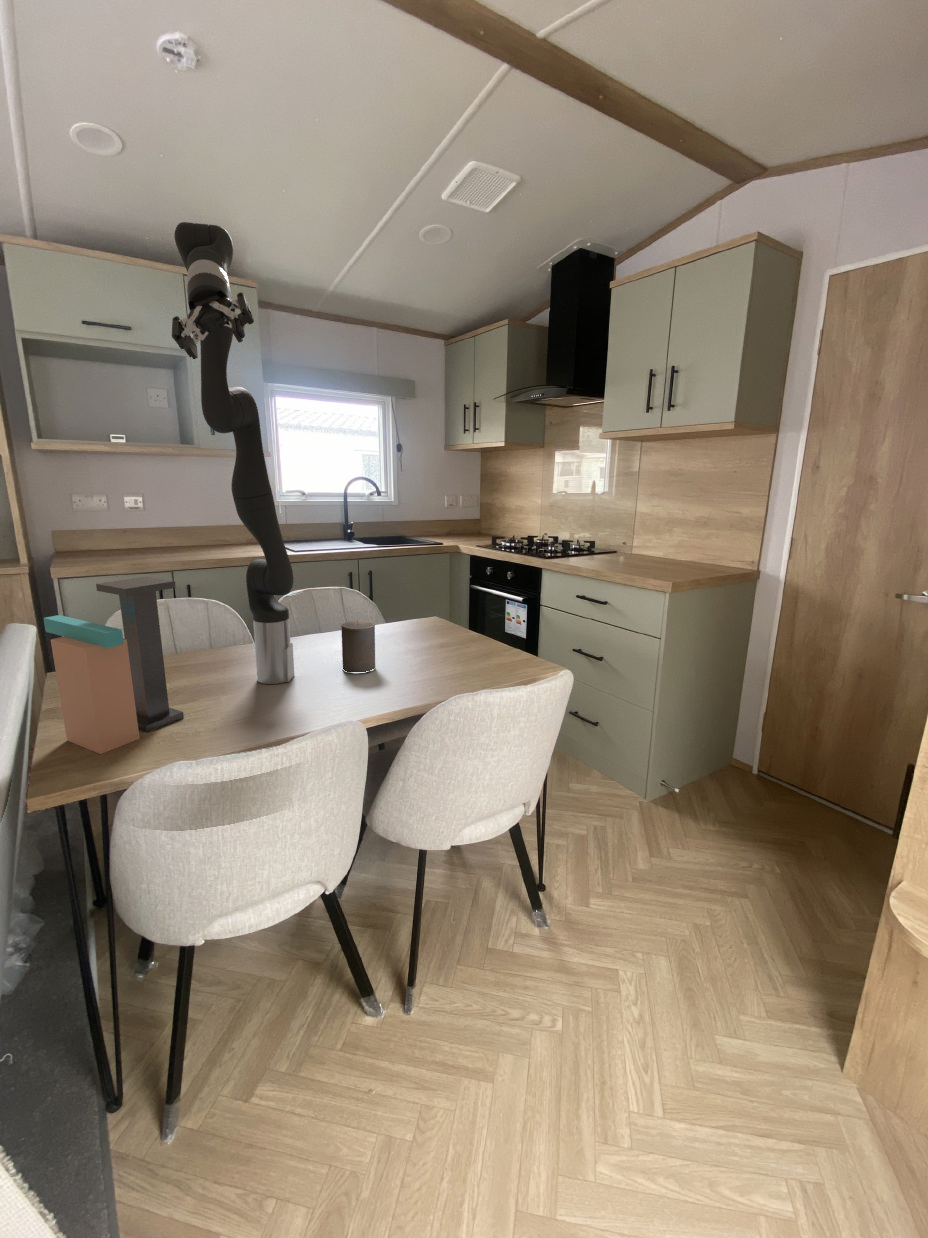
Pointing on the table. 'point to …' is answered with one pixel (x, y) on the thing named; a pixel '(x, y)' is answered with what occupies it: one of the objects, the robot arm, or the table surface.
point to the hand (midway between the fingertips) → (214, 346)
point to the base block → (95, 694)
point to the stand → (144, 648)
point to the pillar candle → (358, 646)
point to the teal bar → (84, 631)
